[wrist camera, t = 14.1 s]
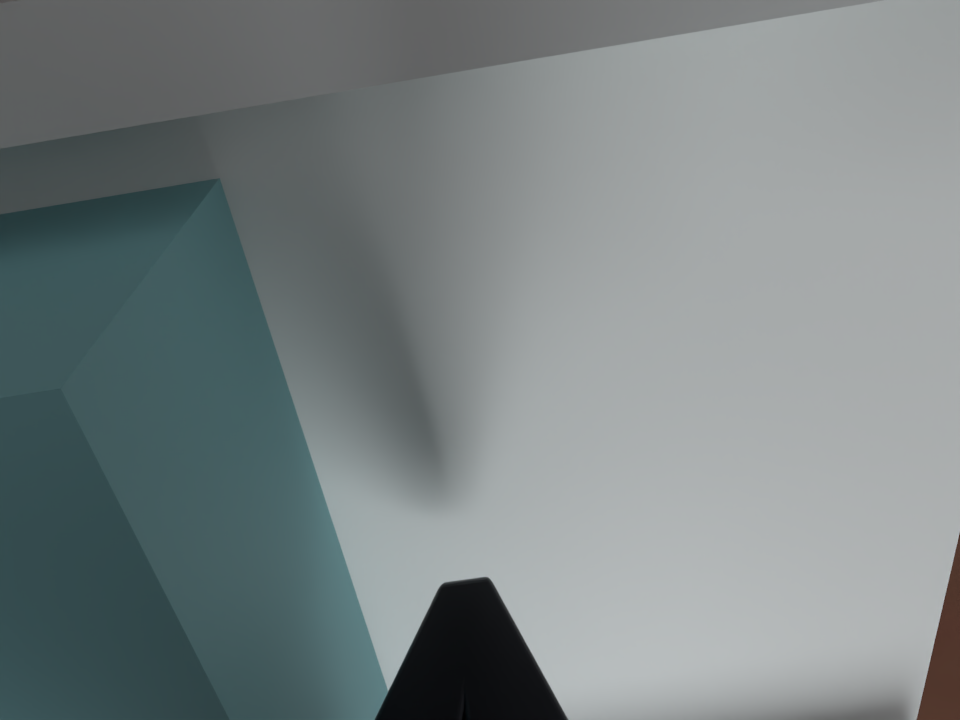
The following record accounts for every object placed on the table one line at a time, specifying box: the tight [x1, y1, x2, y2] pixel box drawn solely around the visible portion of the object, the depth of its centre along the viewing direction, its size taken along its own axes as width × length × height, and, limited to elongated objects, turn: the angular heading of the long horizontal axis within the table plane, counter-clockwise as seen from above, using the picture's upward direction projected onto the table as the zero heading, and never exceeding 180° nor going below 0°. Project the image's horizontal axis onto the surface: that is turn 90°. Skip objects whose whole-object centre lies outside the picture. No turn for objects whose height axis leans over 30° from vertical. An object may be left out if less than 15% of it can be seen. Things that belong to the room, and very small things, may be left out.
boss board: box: [0, 0, 960, 720], centre depth 9 cm, size 16×15×6 cm
